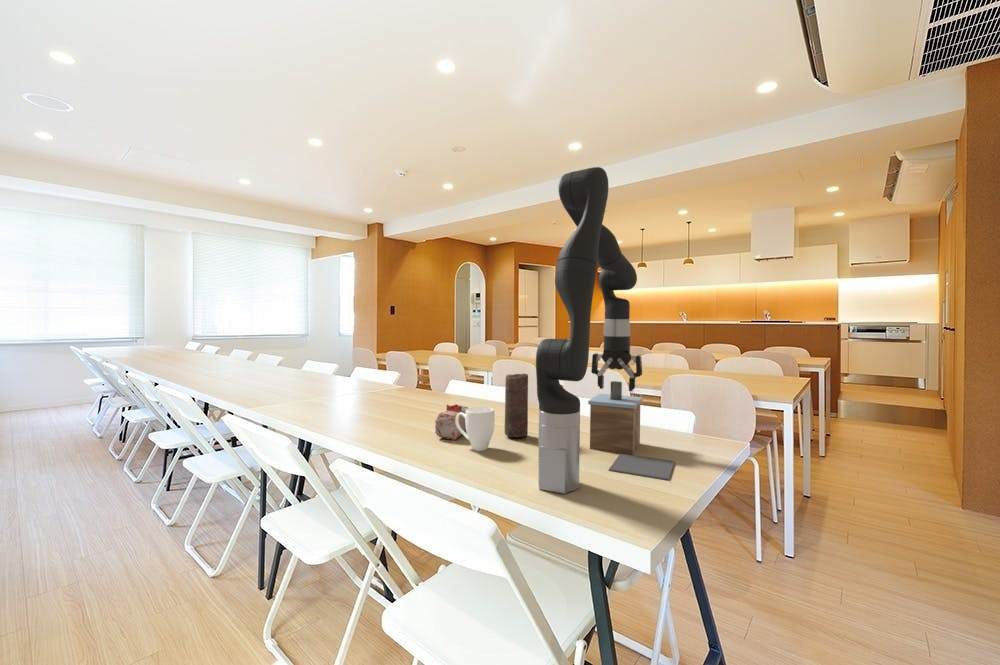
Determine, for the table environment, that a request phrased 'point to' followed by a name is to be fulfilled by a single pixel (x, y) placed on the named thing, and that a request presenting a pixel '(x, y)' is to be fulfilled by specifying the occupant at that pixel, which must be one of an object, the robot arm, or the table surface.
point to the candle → (516, 405)
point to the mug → (478, 426)
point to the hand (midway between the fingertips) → (616, 389)
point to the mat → (643, 466)
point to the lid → (616, 398)
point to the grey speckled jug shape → (450, 422)
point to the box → (614, 428)
